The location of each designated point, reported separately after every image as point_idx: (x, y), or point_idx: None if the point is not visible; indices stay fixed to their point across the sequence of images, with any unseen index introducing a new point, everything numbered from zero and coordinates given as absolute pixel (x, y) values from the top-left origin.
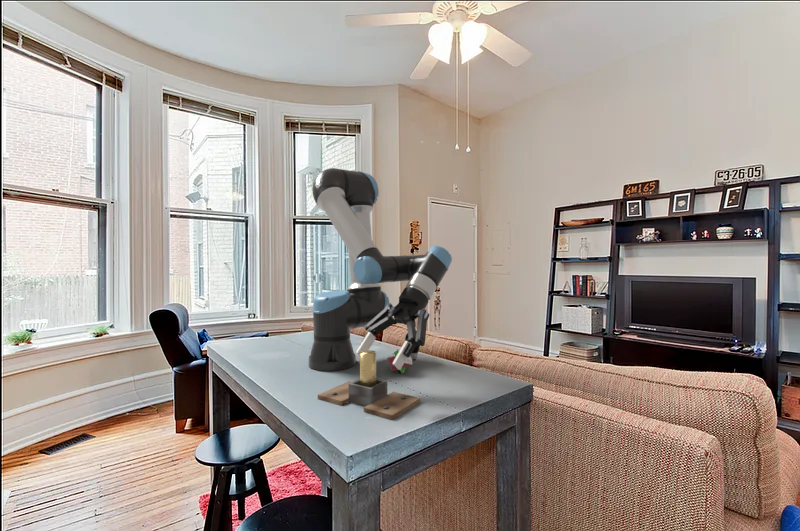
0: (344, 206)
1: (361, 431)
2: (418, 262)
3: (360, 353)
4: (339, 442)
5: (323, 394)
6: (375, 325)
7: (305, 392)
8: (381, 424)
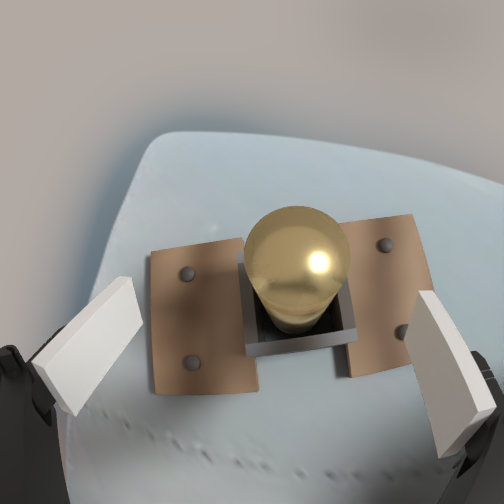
0: None
1: (180, 179)
2: None
3: (314, 210)
4: (187, 136)
5: (404, 225)
6: (495, 483)
7: (461, 226)
8: (163, 224)
